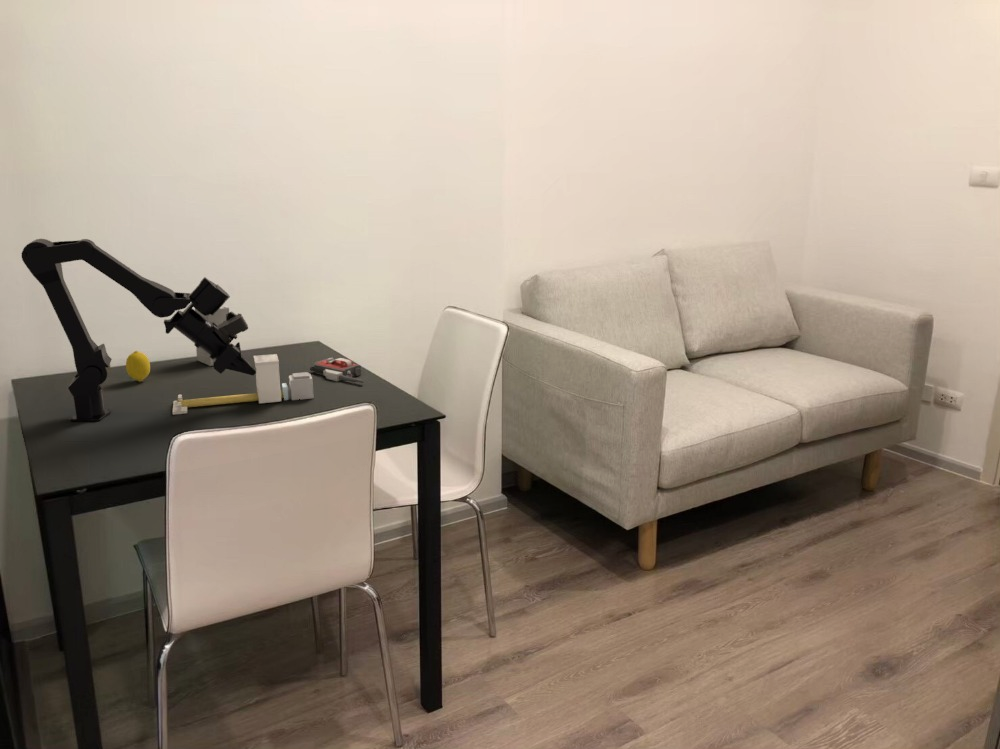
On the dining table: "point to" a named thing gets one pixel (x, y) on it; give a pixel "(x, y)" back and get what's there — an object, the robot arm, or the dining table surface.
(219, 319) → the skincare box
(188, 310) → the robot arm
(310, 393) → the grey plastic block
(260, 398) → the white lidded box
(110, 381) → the dining table surface
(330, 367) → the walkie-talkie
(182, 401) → the wooden handled rake
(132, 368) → the lemon
